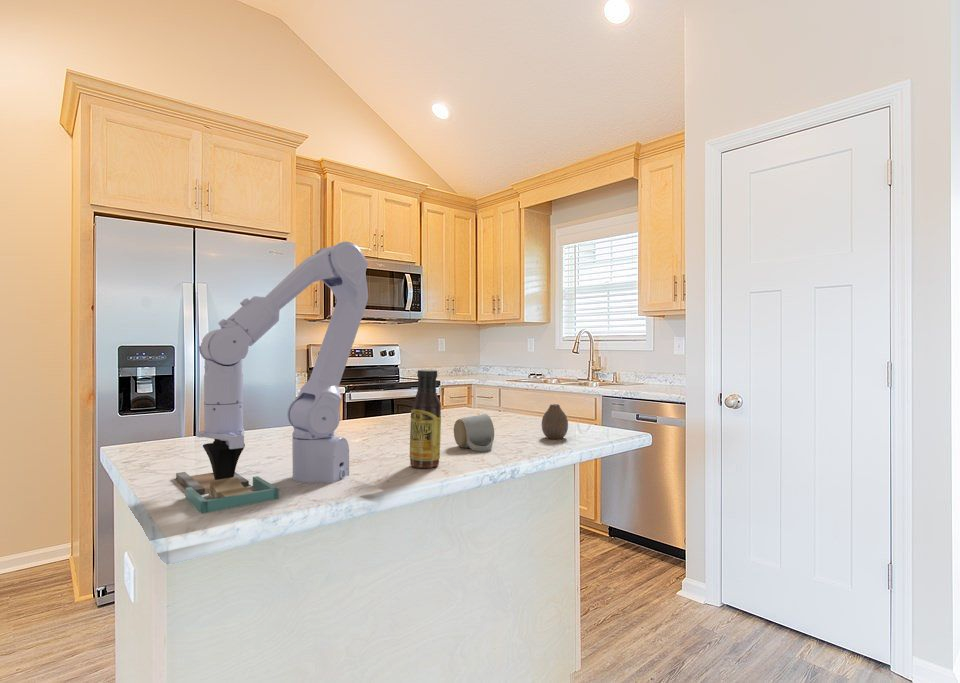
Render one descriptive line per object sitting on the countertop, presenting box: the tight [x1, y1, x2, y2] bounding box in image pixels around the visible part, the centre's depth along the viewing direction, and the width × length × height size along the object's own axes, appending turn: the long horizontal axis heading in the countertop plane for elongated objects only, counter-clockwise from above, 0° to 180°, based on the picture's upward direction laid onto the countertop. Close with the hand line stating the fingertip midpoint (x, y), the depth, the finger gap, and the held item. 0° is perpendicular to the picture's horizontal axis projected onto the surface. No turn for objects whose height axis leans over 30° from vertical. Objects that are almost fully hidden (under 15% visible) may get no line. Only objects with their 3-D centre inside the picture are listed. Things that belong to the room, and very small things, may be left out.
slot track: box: [173, 471, 252, 496], centre depth 94 cm, size 14×9×2 cm, turn 40°
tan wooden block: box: [219, 487, 254, 498], centre depth 83 cm, size 4×4×2 cm
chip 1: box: [208, 477, 243, 499], centre depth 86 cm, size 4×4×2 cm
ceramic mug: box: [453, 413, 495, 453], centre depth 130 cm, size 11×8×8 cm
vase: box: [541, 403, 569, 440], centre depth 142 cm, size 7×7×9 cm
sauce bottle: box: [409, 369, 442, 469], centre depth 111 cm, size 7×6×20 cm
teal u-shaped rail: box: [185, 475, 280, 514], centre depth 85 cm, size 10×11×3 cm
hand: (224, 486), depth 88 cm, fingers closed, pressing on chip 1
